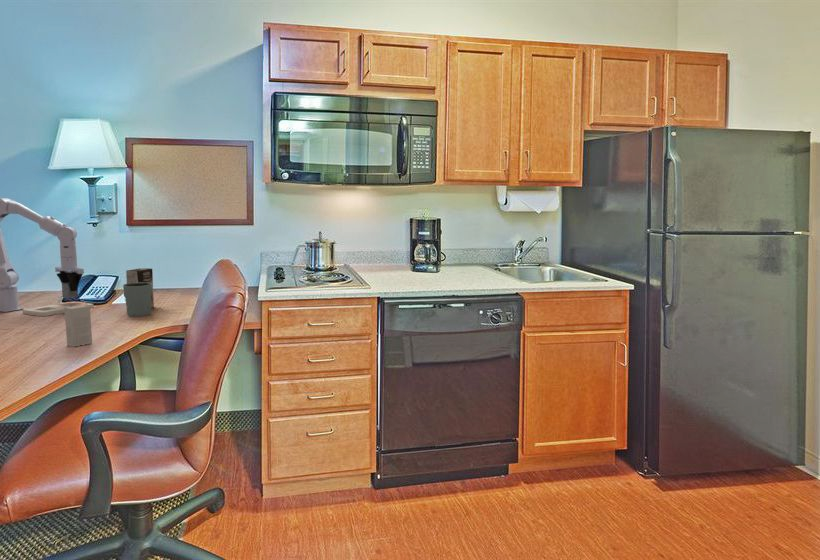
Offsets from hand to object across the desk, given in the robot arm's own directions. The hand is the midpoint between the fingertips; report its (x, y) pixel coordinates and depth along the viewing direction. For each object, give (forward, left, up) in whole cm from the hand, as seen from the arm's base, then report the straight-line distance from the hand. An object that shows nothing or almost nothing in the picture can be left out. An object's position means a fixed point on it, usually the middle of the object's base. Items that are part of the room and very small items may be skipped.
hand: (70, 290), depth 263 cm
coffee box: (+24, +13, -8) cm, 29 cm away
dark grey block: (0, 0, -3) cm, 3 cm away
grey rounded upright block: (+34, +3, -8) cm, 35 cm away
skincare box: (+58, -41, -8) cm, 71 cm away
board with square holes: (0, -6, -7) cm, 9 cm away
